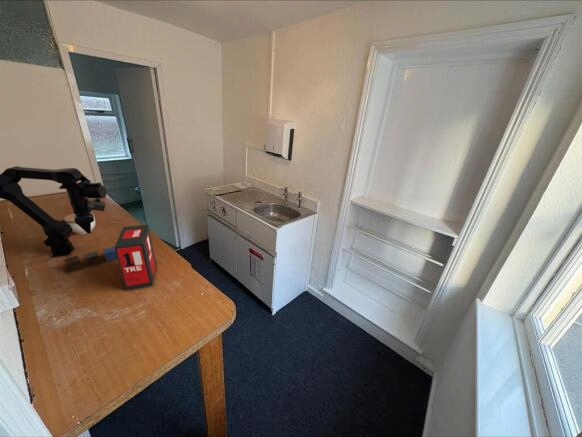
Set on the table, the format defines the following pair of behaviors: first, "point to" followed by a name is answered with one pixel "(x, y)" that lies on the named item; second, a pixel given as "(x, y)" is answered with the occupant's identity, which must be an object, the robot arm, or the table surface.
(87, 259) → the walnut block
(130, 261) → the cleaning product box
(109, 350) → the table surface
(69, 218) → the lidded bowl
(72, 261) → the walnut block
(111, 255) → the blue block
